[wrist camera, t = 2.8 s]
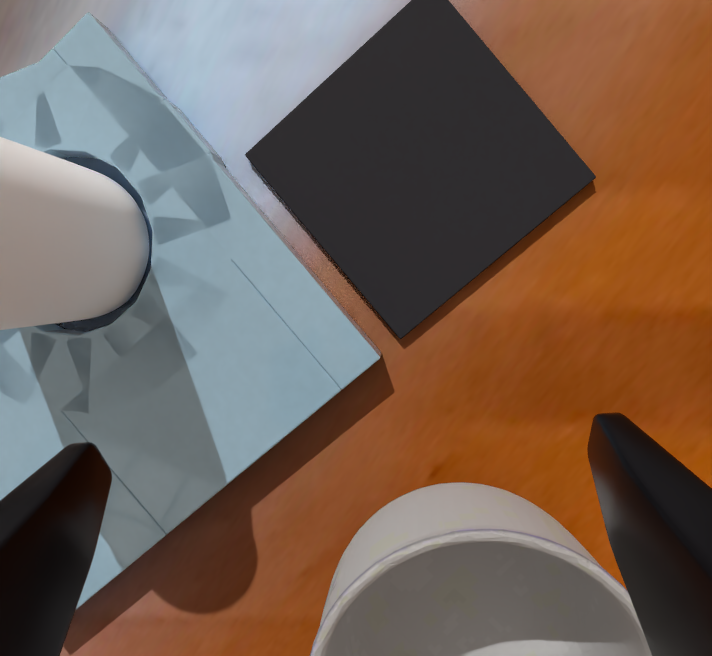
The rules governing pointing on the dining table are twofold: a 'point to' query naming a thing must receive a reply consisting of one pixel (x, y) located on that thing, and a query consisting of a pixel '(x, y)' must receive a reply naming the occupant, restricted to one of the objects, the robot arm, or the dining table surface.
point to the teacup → (473, 584)
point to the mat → (419, 163)
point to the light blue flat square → (164, 313)
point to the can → (64, 240)
